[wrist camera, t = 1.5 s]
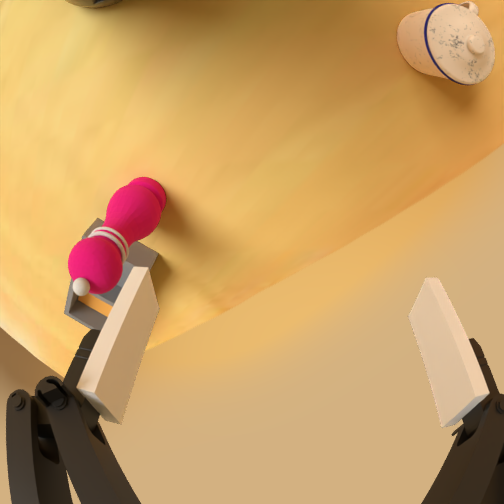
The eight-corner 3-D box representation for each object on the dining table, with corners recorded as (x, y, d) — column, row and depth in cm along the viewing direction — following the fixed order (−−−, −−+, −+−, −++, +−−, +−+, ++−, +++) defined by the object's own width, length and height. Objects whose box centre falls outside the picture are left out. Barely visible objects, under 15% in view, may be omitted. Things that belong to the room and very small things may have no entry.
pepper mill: (117, 177, 40) (35, 263, 24) (162, 169, 39) (90, 259, 23) (131, 221, 44) (67, 318, 28) (175, 216, 43) (122, 321, 27)
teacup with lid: (435, 90, 29) (487, 108, 20) (381, 45, 27) (423, 43, 18) (473, 30, 23) (529, 33, 14) (422, -17, 21) (471, -33, 11)
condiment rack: (74, 297, 55) (63, 314, 51) (97, 218, 44) (82, 235, 40) (121, 324, 59) (112, 342, 55) (158, 253, 47) (148, 273, 43)
